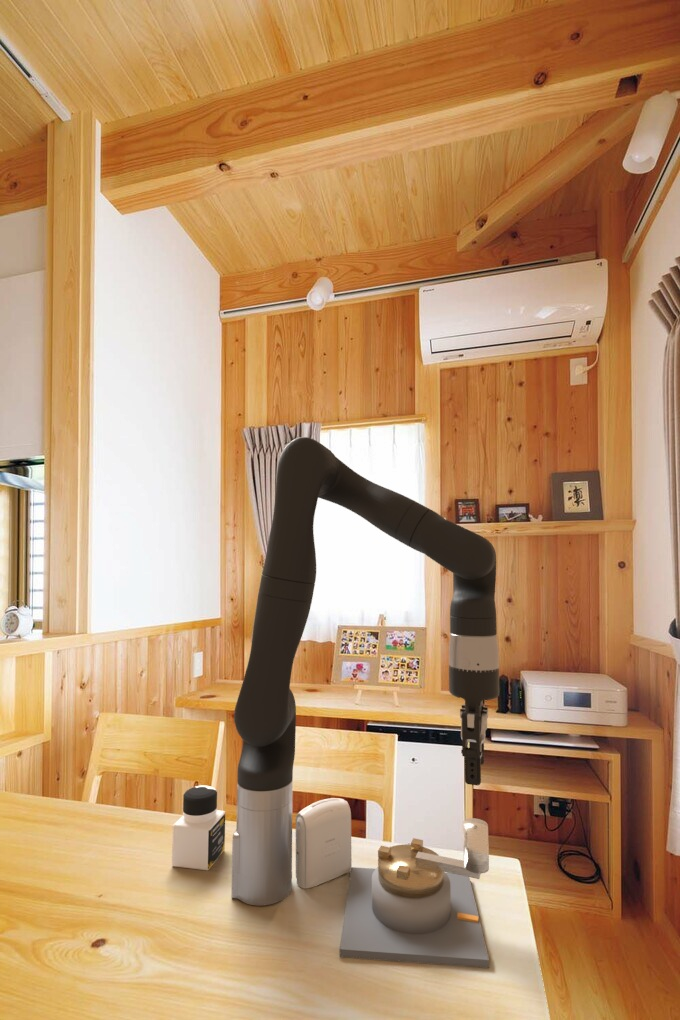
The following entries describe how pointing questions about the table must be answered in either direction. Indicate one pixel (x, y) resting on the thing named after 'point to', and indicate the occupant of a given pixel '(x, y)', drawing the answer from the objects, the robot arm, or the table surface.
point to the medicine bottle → (199, 830)
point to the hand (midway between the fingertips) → (475, 773)
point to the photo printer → (323, 842)
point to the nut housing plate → (412, 946)
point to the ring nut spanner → (432, 863)
